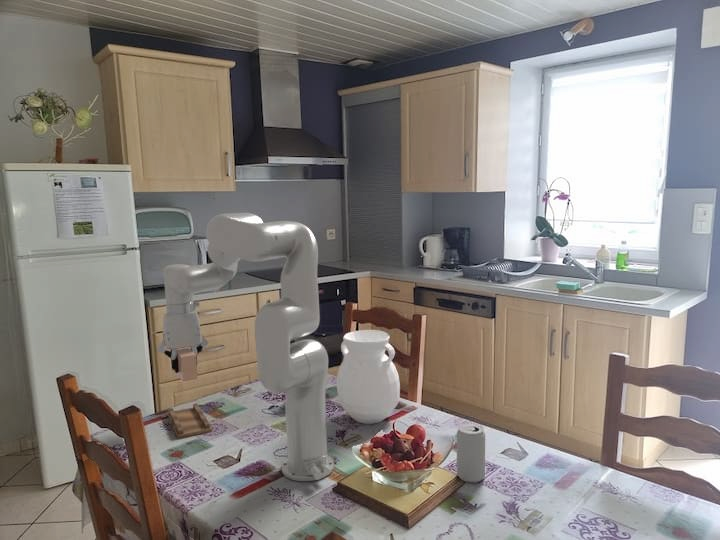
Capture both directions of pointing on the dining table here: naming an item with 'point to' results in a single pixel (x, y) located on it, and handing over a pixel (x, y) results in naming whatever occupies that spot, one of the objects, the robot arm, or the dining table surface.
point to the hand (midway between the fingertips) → (184, 369)
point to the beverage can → (471, 452)
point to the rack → (189, 422)
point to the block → (186, 364)
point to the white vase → (368, 376)
